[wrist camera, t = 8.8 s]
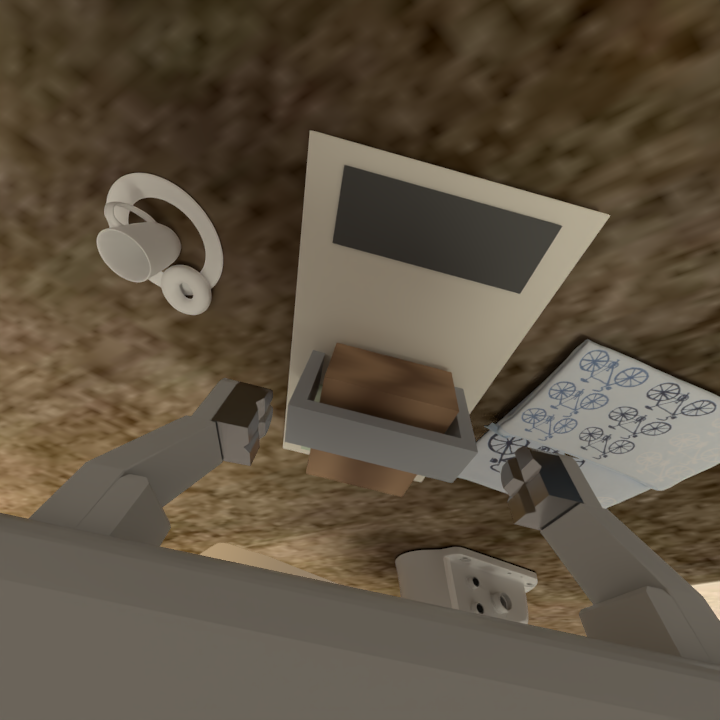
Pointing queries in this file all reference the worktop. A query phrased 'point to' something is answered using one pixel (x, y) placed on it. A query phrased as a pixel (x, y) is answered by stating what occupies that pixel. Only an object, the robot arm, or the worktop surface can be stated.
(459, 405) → the tunnel
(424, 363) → the board
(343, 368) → the wood grain block
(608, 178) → the worktop surface
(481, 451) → the bicycle print towel
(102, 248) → the white ring-shaped piece
